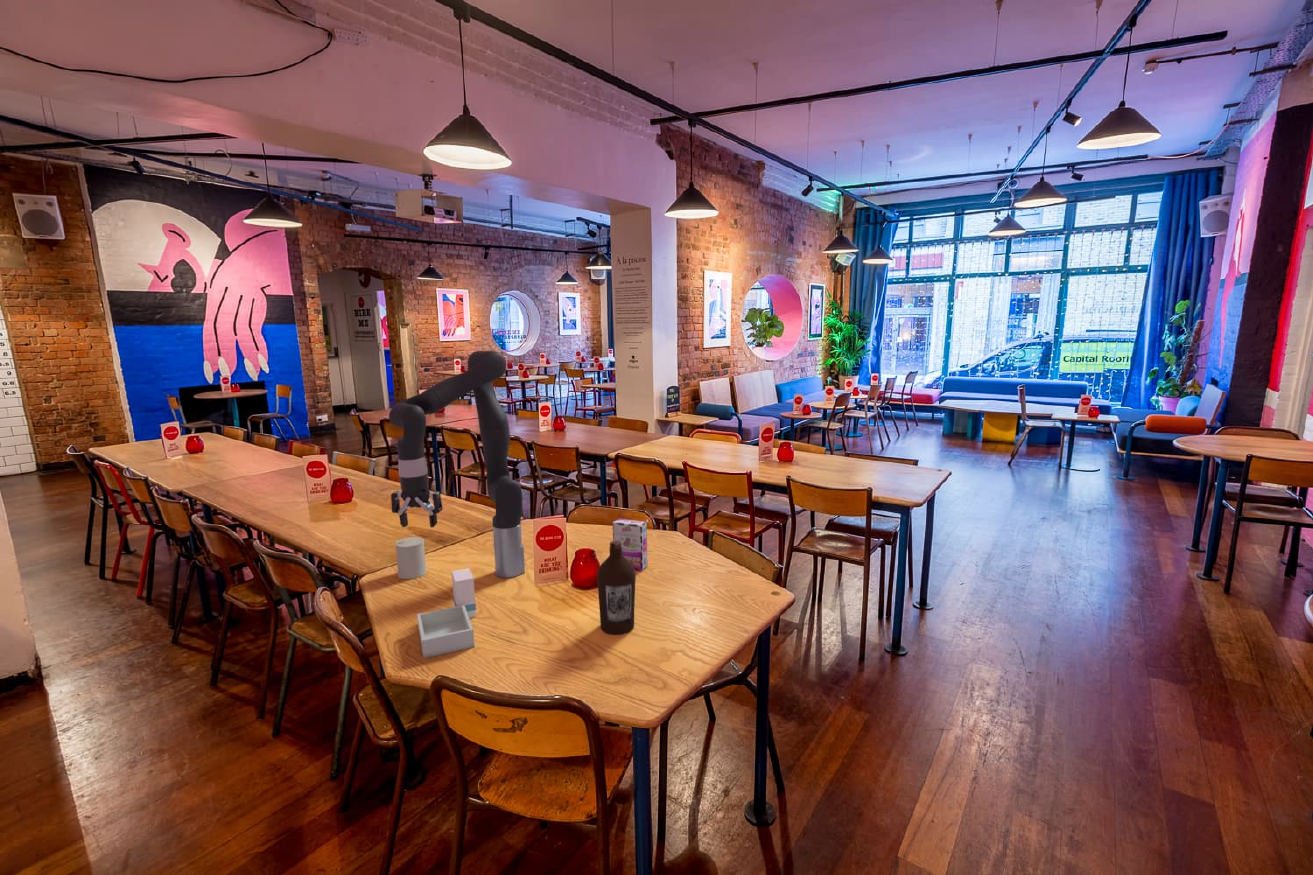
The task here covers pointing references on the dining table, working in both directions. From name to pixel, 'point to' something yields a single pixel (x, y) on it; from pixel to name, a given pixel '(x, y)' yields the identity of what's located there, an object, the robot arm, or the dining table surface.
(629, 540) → the candy bar box
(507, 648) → the dining table surface
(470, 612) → the carton
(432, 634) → the tray
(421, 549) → the can
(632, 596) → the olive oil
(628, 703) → the dining table surface
